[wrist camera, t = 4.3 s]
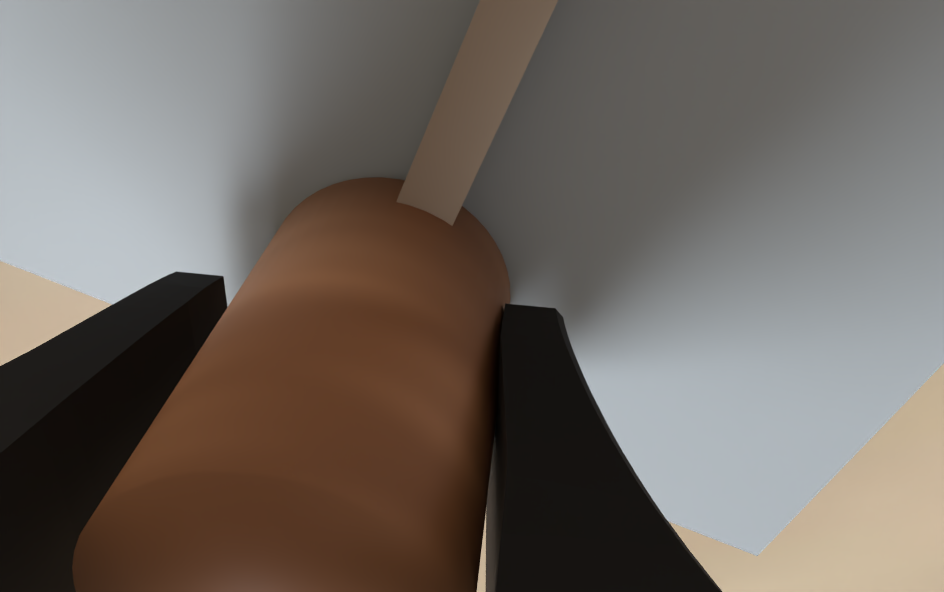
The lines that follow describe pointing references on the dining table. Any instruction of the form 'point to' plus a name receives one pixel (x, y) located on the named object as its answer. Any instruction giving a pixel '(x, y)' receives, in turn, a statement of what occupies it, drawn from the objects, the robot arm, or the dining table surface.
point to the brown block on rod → (340, 383)
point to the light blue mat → (543, 195)
